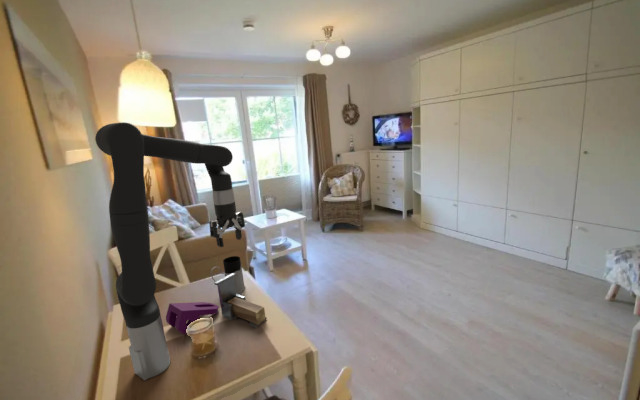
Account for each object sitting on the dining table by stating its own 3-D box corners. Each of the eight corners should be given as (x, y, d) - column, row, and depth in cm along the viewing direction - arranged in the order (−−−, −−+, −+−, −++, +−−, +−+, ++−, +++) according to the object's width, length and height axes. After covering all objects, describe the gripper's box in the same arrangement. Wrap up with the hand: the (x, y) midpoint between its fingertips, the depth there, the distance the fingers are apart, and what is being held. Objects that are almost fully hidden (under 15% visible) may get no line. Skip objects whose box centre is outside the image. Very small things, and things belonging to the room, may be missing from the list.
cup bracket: (230, 321, 119) (225, 286, 116) (219, 316, 123) (214, 282, 119) (247, 309, 126) (243, 276, 123) (237, 305, 130) (232, 272, 126)
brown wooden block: (258, 324, 114) (256, 312, 113) (229, 313, 123) (227, 301, 122) (265, 319, 117) (264, 307, 116) (237, 307, 126) (235, 296, 125)
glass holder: (248, 289, 142) (244, 259, 139) (217, 300, 134) (212, 269, 131) (241, 282, 149) (237, 254, 146) (212, 293, 141) (207, 262, 138)
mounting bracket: (205, 322, 130) (163, 326, 116) (210, 301, 131) (169, 303, 117) (218, 329, 124) (175, 334, 110) (223, 308, 125) (181, 310, 111)
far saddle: (255, 328, 114) (255, 325, 113) (249, 325, 115) (249, 323, 115) (266, 319, 118) (266, 317, 118) (261, 317, 120) (260, 315, 120)
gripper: (214, 207, 106) (221, 251, 109) (245, 197, 117) (251, 238, 121) (201, 205, 110) (208, 247, 113) (232, 196, 121) (238, 235, 125)
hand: (230, 242), depth 117 cm, fingers open, 8 cm apart
